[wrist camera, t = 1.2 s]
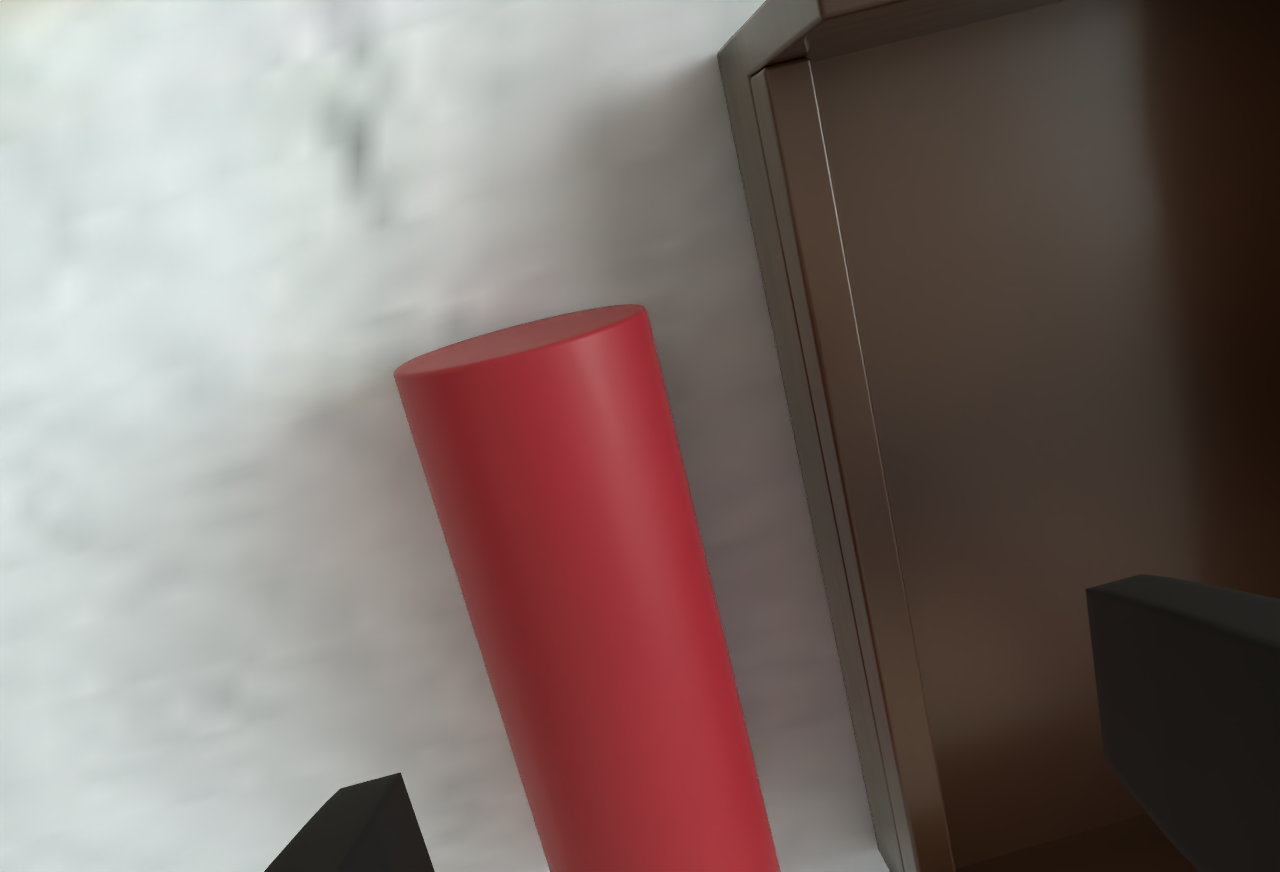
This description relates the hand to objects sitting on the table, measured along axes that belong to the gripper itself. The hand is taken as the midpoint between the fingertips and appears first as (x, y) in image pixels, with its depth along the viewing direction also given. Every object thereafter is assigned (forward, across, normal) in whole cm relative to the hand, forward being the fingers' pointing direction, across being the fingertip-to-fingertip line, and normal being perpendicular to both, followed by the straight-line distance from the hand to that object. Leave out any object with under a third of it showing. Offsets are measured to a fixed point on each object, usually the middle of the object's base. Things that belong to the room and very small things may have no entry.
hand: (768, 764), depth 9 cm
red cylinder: (+7, +2, +2) cm, 8 cm away
